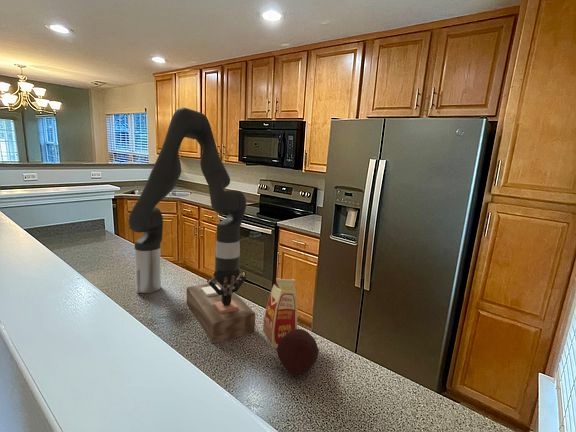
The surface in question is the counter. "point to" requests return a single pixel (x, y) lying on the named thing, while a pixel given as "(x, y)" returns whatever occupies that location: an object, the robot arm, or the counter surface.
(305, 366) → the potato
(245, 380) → the counter surface
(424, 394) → the counter surface
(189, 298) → the block
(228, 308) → the salmon pink block
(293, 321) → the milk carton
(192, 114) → the robot arm
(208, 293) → the cream square block
